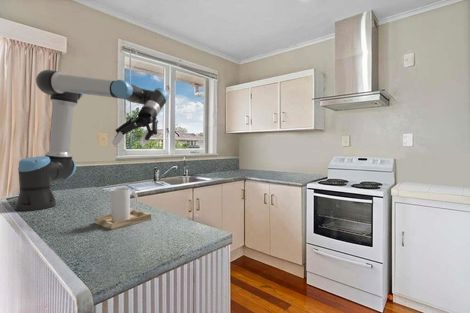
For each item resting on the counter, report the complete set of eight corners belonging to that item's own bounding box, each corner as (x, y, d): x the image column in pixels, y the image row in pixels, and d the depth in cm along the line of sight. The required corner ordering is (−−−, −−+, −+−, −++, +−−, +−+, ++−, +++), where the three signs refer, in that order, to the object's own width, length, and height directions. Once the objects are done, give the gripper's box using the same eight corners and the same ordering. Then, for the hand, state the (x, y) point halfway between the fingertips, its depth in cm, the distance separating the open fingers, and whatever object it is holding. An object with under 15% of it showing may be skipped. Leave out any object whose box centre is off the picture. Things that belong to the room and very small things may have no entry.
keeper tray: (95, 223, 97) (95, 217, 97) (133, 214, 109) (133, 209, 109) (111, 230, 89) (111, 224, 89) (151, 219, 102) (151, 214, 101)
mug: (115, 224, 93) (114, 191, 93) (108, 220, 98) (107, 189, 98) (141, 218, 100) (141, 188, 100) (134, 215, 105) (134, 186, 105)
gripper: (175, 117, 120) (156, 151, 106) (131, 119, 128) (108, 150, 114) (169, 104, 115) (148, 138, 101) (123, 106, 122) (98, 138, 109)
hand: (127, 144), depth 108 cm, fingers open, 13 cm apart
